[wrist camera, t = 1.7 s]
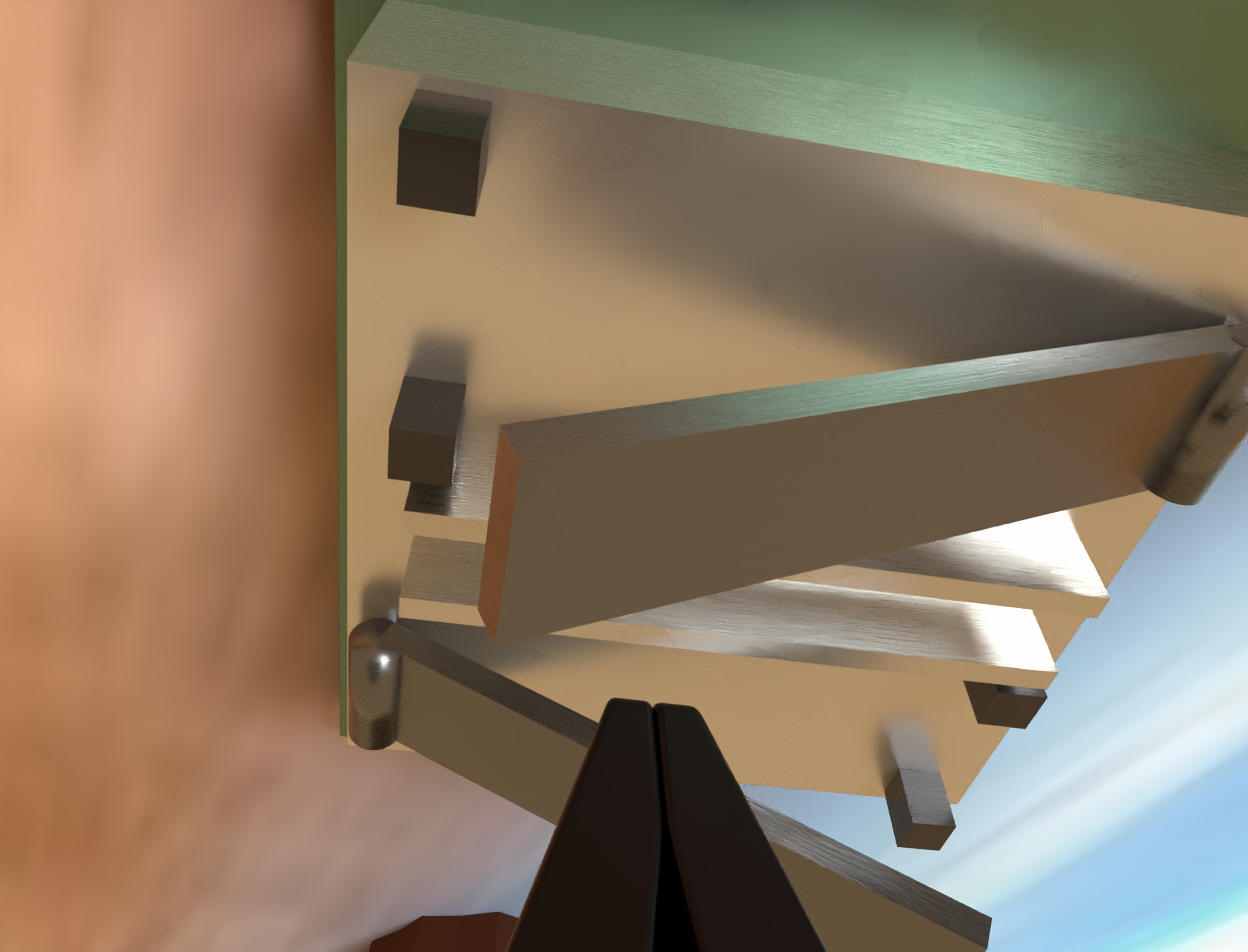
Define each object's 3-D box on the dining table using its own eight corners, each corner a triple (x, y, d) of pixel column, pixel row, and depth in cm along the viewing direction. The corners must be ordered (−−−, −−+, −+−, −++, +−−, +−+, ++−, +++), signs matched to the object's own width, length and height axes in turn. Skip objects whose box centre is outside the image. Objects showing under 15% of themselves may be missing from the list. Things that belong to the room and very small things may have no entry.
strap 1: (1256, 320, 16) (1317, 359, 15) (1164, 458, 17) (1215, 499, 17) (500, 425, 10) (539, 493, 10) (477, 609, 12) (509, 679, 11)
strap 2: (369, 698, 21) (337, 734, 21) (371, 610, 20) (336, 646, 19) (931, 990, 19) (920, 1045, 18) (991, 918, 17) (982, 976, 16)
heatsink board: (1413, -114, 15) (1727, -19, 11) (895, 761, 30) (943, 950, 25) (347, -349, 13) (221, -348, 9) (347, 705, 28) (298, 899, 24)
